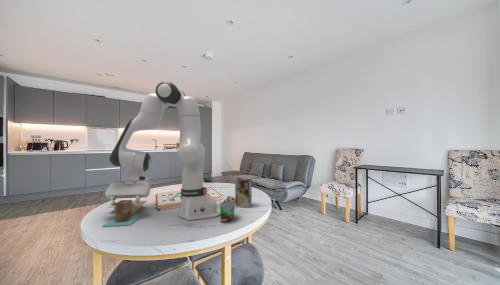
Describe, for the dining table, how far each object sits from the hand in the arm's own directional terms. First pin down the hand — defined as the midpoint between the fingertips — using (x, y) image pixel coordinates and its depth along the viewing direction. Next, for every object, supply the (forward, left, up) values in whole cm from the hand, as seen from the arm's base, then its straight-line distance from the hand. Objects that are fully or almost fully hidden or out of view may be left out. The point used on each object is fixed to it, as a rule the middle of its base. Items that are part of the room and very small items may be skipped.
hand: (122, 205), depth 93 cm
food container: (-52, +3, -8) cm, 53 cm away
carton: (+5, -17, -8) cm, 19 cm away
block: (0, -1, -7) cm, 7 cm away
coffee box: (-61, -17, -8) cm, 64 cm away
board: (0, -1, -8) cm, 8 cm away
